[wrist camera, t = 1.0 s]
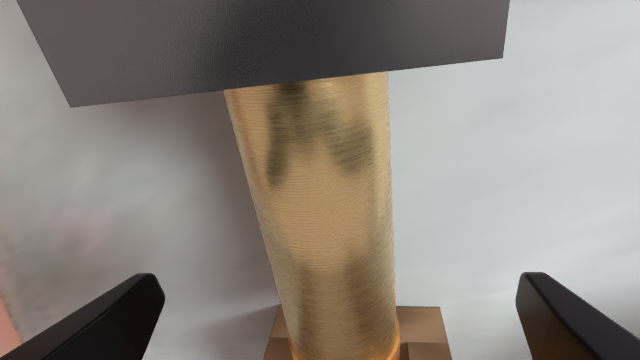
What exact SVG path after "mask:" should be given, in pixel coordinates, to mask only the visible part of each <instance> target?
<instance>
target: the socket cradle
mask: <svg viewBox="0 0 640 360" xmlns="http://www.w3.org/2000/svg"><path fill="white" fill-rule="evenodd" d="M396 316H397V319H398V322H399V329H400V357H399V360H452V358H451V353H450V349H449V345H448V341H447V336H446V332H445V328H444V323H443V319H442V315H441V311H440V307H396ZM288 335H289V331H288V327H287V324H286V320H285V316H284V313H283V309H282V305H279V308H278V311H277V315H276V318H275V321H274V325H273V328H272V332H271V335H270V338H269V342H268V345H267V348H266V352H265V355H264V359H263V360H293V356H292V352H291V349H290V345H289V338H288Z"/></svg>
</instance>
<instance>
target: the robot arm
mask: <svg viewBox="0 0 640 360" xmlns="http://www.w3.org/2000/svg"><path fill="white" fill-rule="evenodd" d="M164 303H165V294H164V292H163V290H162V288H161V286H160V284H159V282H158V280H157V278H156V276H155V275H154V274H151V273H139V274H136V275H134V276H132V277H131V278H129V279H127V280H126V281H124V282H122V283H121V284H119V285H118V286H116V287H114V288H113V289H111V290H109V291H108V292H106V293H105V294H103V295H101V296H100V297H98V298H96V299H95V300H93V301H92V302H90V303H88V304H87V305H85V306H83V307H82V308H80V309H79V310H77V311H75V312H74V313H72V314H70V315H69V316H67V317H66V318H64V319H62V320H61V321H59V322H58V323H56V324H54V325H53V326H51V327H49V328H48V329H46V330H45V331H43V332H41V333H40V334H38V335H36V336H35V337H33V338H32V339H30V340H28V341H27V342H25V343H23V344H22V345H20V346H19V347H17V348H15V349H14V350H12V351H10V352H9V353H7V354H6V355H4V356H2V357H1V358H0V360H142V358H143V356H144V353H145V351H146V348H147V346H148V343H149V341H150V338H151V336H152V333H153V331H154V328H155V326H156V323H157V321H158V318H159V316H160V313H161V311H162V308H163V306H164ZM516 308H517V312H518V315H519V318H520V321H521V324H522V327H523V330H524V333H525V336H526V339H527V343H528V346H529V349H530V352H531V355H532V358H533V360H640V339H638V338H637V337H636V336H634V335H633V334H631V333H630V332H628V331H627V330H626V329H624V328H623V327H621V326H620V325H618V324H617V323H616V322H614V321H613V320H611V319H610V318H609V317H607V316H606V315H604V314H603V313H601V312H600V311H599V310H597V309H596V308H594V307H593V306H591V305H590V304H589V303H587V302H586V301H584V300H583V299H582V298H580V297H579V296H577V295H576V294H574V293H573V292H572V291H570V290H569V289H567V288H566V287H564V286H563V285H562V284H560V283H559V282H557V281H556V280H555V279H553V278H552V277H550V276H549V275H547V274H546V273H543V272H524V273H522V274H521V276H520V280H519V285H518V290H517V294H516Z"/></svg>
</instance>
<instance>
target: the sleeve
mask: <svg viewBox="0 0 640 360" xmlns="http://www.w3.org/2000/svg"><path fill="white" fill-rule="evenodd" d="M17 2H18V4H19V6H20V8H21V10H22V12H23V14H24V16H25V18H26V20H27V22H28V24H29V26H30V28H31V30H32V32H33V34H34V36H35V38H36V40H37V42H38V44H39V46H40V48H41V50H42V52H43V54H44V56H45V58H46V60H47V62H48V64H49V66H50V68H51V70H52V72H53V74H54V76H55V78H56V80H57V82H58V84H59V86H60V88H61V90H62V92H63V94H64V96H65V98H66V100H67V102H68V104H69V106H70V108H71V107H80V106H89V105H97V104H106V103H115V102H123V101H132V100H141V99H150V98H158V97H167V96H176V95H185V94H193V93H202V92H211V91H220V90H228V89H237V88H246V87H255V86H263V85H272V84H281V83H289V82H298V81H307V80H316V79H324V78H333V77H342V76H351V75H359V74H368V73H377V72H386V71H394V70H403V69H412V68H420V67H429V66H438V65H447V64H455V63H464V62H473V61H482V60H490V59H499V58H503V51H504V43H505V35H506V27H507V18H508V10H509V2H510V0H17Z"/></svg>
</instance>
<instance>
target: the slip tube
mask: <svg viewBox="0 0 640 360" xmlns="http://www.w3.org/2000/svg"><path fill="white" fill-rule="evenodd" d="M223 93H224V97H225V100H226V104H227V108H228V111H229V115H230V119H231V122H232V126H233V130H234V133H235V137H236V141H237V144H238V148H239V152H240V155H241V159H242V163H243V166H244V170H245V174H246V177H247V181H248V185H249V188H250V192H251V196H252V199H253V203H254V207H255V210H256V214H257V218H258V221H259V225H260V229H261V232H262V236H263V240H264V243H265V247H266V251H267V254H268V258H269V261H270V265H271V269H272V272H273V276H274V280H275V283H276V287H277V291H278V294H279V298H280V302H281V305H282V309H283V313H284V316H285V320H286V324H287V327H288V331H289V335H288V338H289V345H290V349H291V352H292V356H293V360H399V357H400V329H399V322H398V319H397V316H396V295H395V266H394V238H393V210H392V182H391V154H390V125H389V97H388V71H386V72H377V73H368V74H359V75H351V76H342V77H333V78H324V79H316V80H307V81H298V82H289V83H281V84H272V85H263V86H255V87H246V88H237V89H228V90H223Z"/></svg>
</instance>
